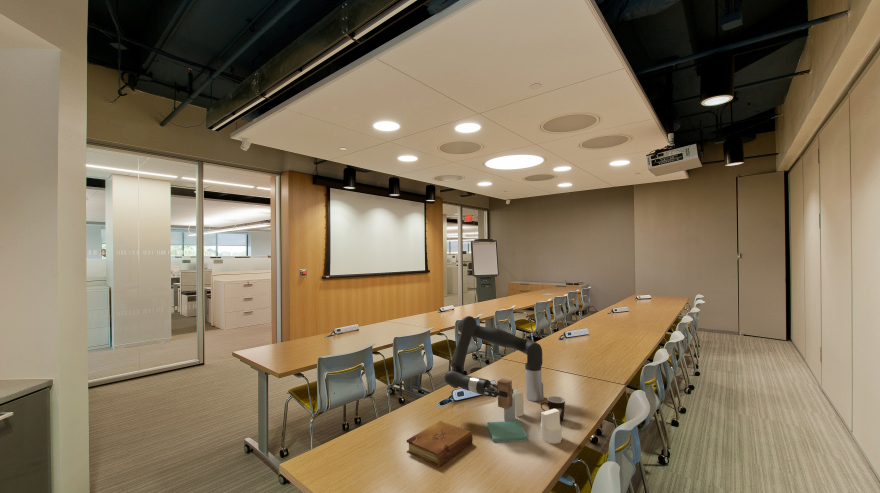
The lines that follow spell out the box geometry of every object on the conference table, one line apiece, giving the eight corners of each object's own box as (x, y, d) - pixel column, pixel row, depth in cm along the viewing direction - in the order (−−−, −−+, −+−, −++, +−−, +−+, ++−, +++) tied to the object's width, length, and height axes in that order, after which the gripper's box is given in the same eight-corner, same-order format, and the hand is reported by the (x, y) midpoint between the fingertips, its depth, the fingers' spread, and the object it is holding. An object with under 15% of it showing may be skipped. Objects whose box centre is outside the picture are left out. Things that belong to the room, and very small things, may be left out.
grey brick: (505, 417, 182) (504, 393, 183) (515, 418, 180) (514, 394, 181) (504, 421, 177) (503, 397, 178) (514, 422, 176) (513, 398, 176)
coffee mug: (566, 417, 180) (565, 397, 180) (565, 424, 172) (564, 403, 172) (543, 413, 185) (542, 394, 185) (540, 420, 177) (540, 400, 177)
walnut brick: (503, 403, 170) (502, 378, 170) (512, 405, 167) (511, 380, 167) (498, 406, 166) (497, 381, 166) (507, 409, 163) (506, 383, 163)
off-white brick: (517, 411, 188) (516, 388, 189) (523, 414, 184) (522, 391, 184) (510, 413, 186) (509, 390, 187) (516, 417, 182) (515, 393, 182)
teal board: (519, 424, 174) (519, 420, 174) (528, 440, 158) (527, 437, 158) (487, 425, 173) (487, 422, 173) (493, 441, 157) (492, 438, 158)
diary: (439, 469, 139) (439, 454, 139) (406, 453, 151) (406, 440, 151) (472, 444, 157) (472, 431, 157) (440, 432, 169) (440, 420, 169)
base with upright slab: (551, 445, 153) (550, 417, 154) (536, 436, 161) (535, 410, 162) (566, 440, 157) (564, 413, 158) (551, 431, 165) (550, 406, 166)
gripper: (471, 382, 170) (502, 389, 159) (486, 374, 181) (516, 381, 171) (471, 397, 170) (503, 406, 159) (487, 389, 181) (517, 396, 170)
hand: (509, 393), depth 165 cm, fingers closed on walnut brick, 5 cm apart
